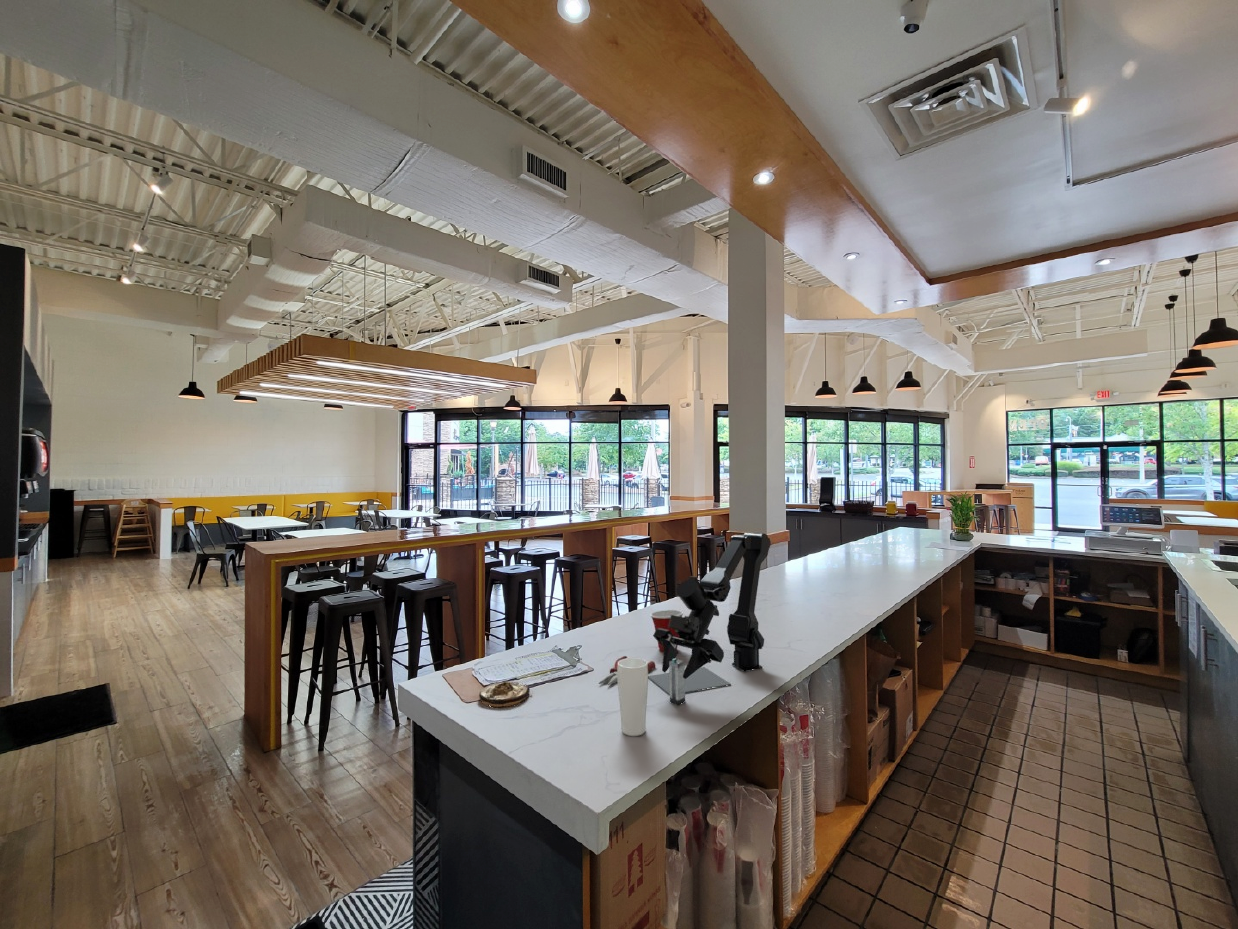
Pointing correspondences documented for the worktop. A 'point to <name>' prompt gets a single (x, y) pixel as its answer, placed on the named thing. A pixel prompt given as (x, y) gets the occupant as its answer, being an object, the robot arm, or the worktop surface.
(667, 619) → the plastic cup
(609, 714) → the worktop surface
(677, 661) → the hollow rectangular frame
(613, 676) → the pliers
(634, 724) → the white tumbler
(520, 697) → the pie
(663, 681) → the mat
